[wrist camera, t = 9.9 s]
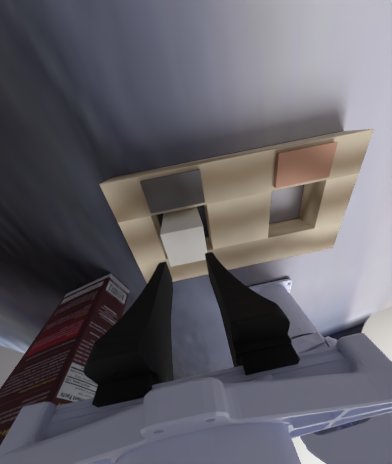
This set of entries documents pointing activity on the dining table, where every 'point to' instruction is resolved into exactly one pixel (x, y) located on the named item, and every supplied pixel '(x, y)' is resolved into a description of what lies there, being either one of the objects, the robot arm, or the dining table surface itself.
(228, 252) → the socket block
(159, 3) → the dining table surface
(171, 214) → the plug
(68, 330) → the supplement box
